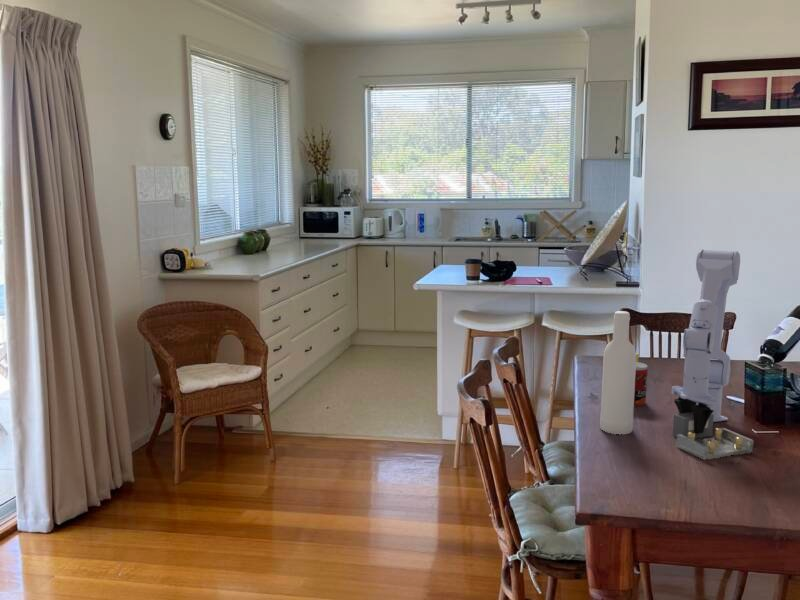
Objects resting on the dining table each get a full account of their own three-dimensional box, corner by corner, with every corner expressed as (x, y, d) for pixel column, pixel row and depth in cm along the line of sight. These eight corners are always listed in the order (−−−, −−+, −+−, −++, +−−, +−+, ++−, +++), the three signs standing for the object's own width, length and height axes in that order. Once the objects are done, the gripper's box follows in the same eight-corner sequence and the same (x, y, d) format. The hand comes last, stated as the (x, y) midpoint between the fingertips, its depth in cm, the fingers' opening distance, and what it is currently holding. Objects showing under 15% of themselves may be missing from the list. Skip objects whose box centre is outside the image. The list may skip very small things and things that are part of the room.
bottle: (612, 436, 185) (618, 316, 180) (593, 426, 192) (598, 310, 187) (639, 432, 188) (646, 313, 183) (619, 423, 195) (625, 308, 190)
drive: (672, 436, 186) (673, 414, 185) (701, 431, 189) (703, 410, 188) (682, 440, 183) (684, 418, 182) (712, 436, 186) (713, 414, 185)
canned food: (640, 408, 207) (642, 369, 206) (612, 403, 212) (613, 365, 210) (649, 401, 213) (651, 363, 212) (622, 396, 218) (624, 359, 216)
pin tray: (676, 446, 178) (677, 432, 178) (723, 439, 183) (724, 425, 182) (703, 460, 170) (704, 445, 169) (752, 452, 175) (753, 438, 174)
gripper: (662, 370, 189) (659, 422, 191) (704, 385, 175) (700, 441, 178) (685, 368, 191) (682, 419, 193) (728, 382, 178) (724, 438, 180)
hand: (692, 430), depth 186 cm, fingers open, 4 cm apart
